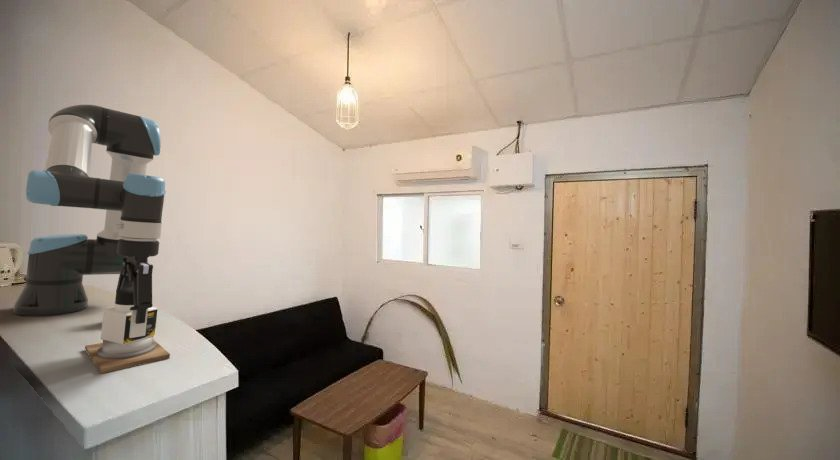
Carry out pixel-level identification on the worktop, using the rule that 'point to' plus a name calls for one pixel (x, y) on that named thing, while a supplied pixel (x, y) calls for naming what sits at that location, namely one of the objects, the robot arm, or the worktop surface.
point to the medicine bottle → (124, 319)
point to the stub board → (125, 354)
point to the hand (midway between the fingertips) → (129, 329)
